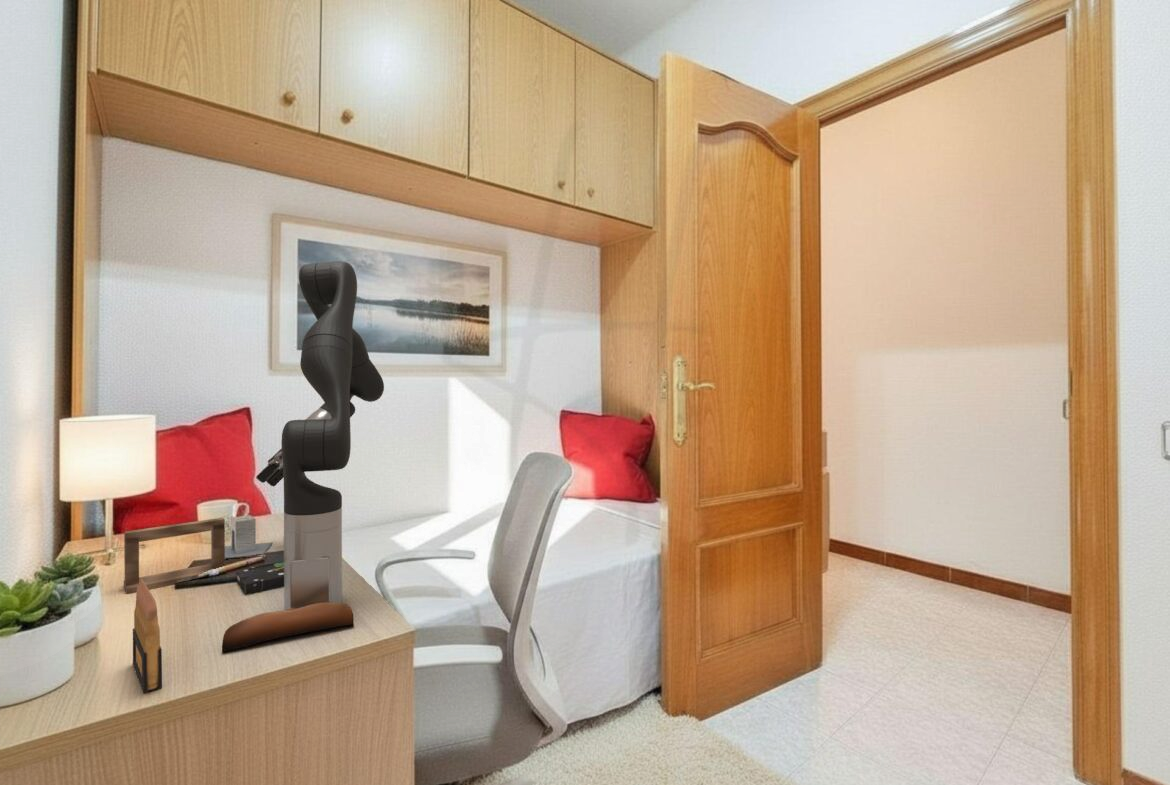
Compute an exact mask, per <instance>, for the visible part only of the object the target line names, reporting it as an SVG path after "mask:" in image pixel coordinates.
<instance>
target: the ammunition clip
mask: <svg viewBox="0 0 1170 785" xmlns="http://www.w3.org/2000/svg"><path fill="white" fill-rule="evenodd" d="M135 593H136V594H135V595H136V597H135V599H136V600H135V607H134V613H133V619H134V620H133V621H134V622H133V625H134V627H133V628H132V666H133V665H134V666H133V668H135V669H134V671H136V672H135V674H136V677H137V679H139V680H138V682H139V685H140V684H141V685H140V688H141V687H142V688H141V690H143V691H142V693H143V694H147V693H150V692H149V691H151V692H152V691H153V690H154V691H156V689H157V690H159V688H160V689H163V669H162V668H163V667H162V666H163V664H162V661H163V660H162V659H163V658H162V656H163V655H162V654H163V651H162V647H161V640H160V639H161V635H160V633H161V632H160V630H161V629H160V625H159V617H158V608H157V603H156V600H155V597H154V596H153V595H152V593H151V591H150V589H148V588H147V586H146V584H145V582H144V581H143V579H141V580H140V582H139V584H138V587H137V592H135ZM146 692H147V693H146Z"/></svg>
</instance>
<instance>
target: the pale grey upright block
mask: <svg viewBox="0 0 1170 785" xmlns="http://www.w3.org/2000/svg"><path fill="white" fill-rule="evenodd" d="M256 525H257V524H256V518H255V517H254V516H253V515H251V514H248V515H242V516H240V515H239V516H235V517H233V516H232V517H230V546H231V550H235V554H240V553H245V552H251V551H256V544H257V543H256V536H257V534H256V532H257V531H256V529H257V528H256Z"/></svg>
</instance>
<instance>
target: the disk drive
mask: <svg viewBox="0 0 1170 785" xmlns="http://www.w3.org/2000/svg"><path fill="white" fill-rule="evenodd" d="M235 572H236V573H235V575H236V577H237V581H236V583H237V582H238V583H237V585H238V586H239V588H240V589H241V592H242V593H243V595H244V596H248V595H253V594H258V593H263V592H266V591H270V590H275V589H280V588H284V560H282V561H279V562H273V563H267V564H261V565H257V566H252V567H246V568H241V569H236V571H235ZM236 577H235V578H236Z"/></svg>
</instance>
